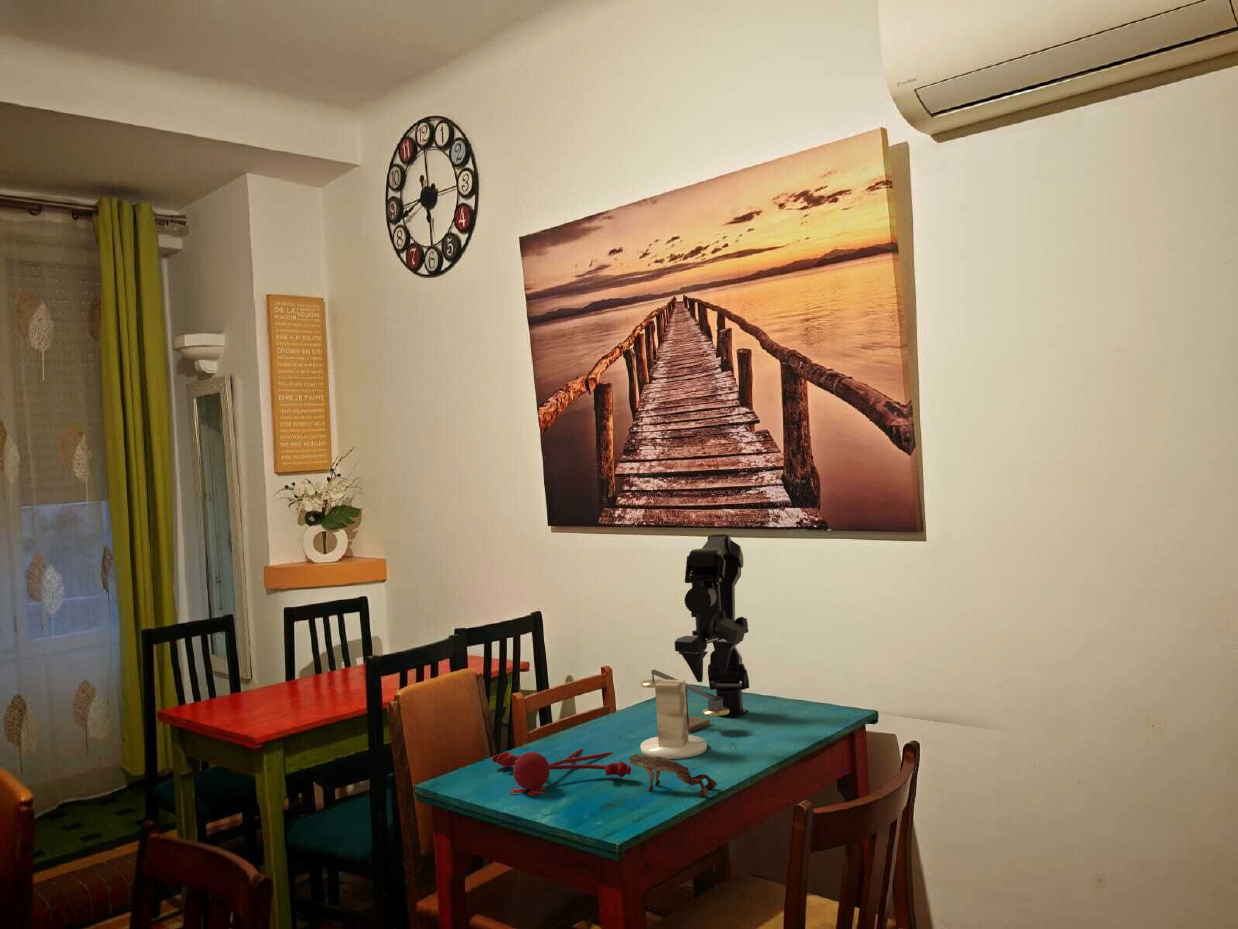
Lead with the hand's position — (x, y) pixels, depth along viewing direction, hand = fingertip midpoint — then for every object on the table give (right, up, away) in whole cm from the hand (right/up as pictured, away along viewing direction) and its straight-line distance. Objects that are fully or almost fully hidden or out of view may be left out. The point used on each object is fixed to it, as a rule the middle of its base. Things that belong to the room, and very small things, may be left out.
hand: (712, 677), depth 225 cm
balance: (-5, -13, +10) cm, 17 cm away
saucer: (-9, -14, -8) cm, 18 cm away
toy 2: (-11, -14, -34) cm, 38 cm away
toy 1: (-31, -16, -19) cm, 40 cm away
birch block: (-9, -12, -8) cm, 17 cm away
